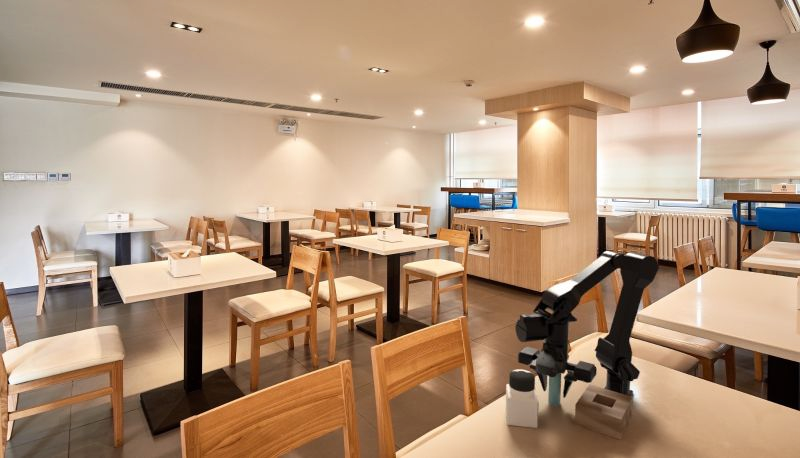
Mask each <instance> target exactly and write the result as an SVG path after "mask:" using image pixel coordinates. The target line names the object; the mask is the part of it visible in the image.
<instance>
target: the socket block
mask: <svg viewBox="0 0 800 458" xmlns="http://www.w3.org/2000/svg"><path fill="white" fill-rule="evenodd" d="M604 388H605V387H604ZM604 388H603V387H601V386H596V385H593V384H591V383H588V386H587V387H586V388H585V390H584V391H583V393H582V394H581V396H580V397H579V399H578V400H577V401H576V403H575V406H574V424H575V425H578V426H581V427H584V428H586V429H590V430H592V431H594V432H596V433H600V434H603V435H605V436H608V437H611V438H614V439H617V440H620V441H621V440H622V437H623V434H624V433H625V430H626V428H627V426H628V425H629V421H630V419H631V417H632V411H633V410H632V409H633V408H632V407H633V396H628V395H624V394H621V393H617V392H614V391H611V390H607V389H604Z"/></svg>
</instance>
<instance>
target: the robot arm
mask: <svg viewBox="0 0 800 458" xmlns="http://www.w3.org/2000/svg"><path fill="white" fill-rule="evenodd" d="M659 265H660V264H659V262H658V259H656V258H655V257H654V256H653V255H648V254H645V253H641V252H640V253H639V252H637V251H630V252H627V253H626V254H624V253H620V252H614V251H611V250H608V251H604V252H602V253H601V255H600V256H599V257H598V258H596V259H595V260H594V261H592V263H590V264H589V265H588V266H586V267H584V269H582V270H580V272H579V273H577V274H575V275H574V276H573V277H571V279H568V280H567V281H565V282H562V283H561V282H560V283H556V284H555V285H553V286H551V287H549V288H547V289H546V290H544V292H543V294H542V298H541V299H540V300H539V301H538V303H537V304H536V306H535V307H534V309H533V311H532V313H533V314H525V313H524V314H520V315H519V319H517V321H516V323H515V326H514V327H515V328H514V329H515V334H516V338H517V339H518V341H520V342H521V343H528V342H538V341H543V343H542V348H541V351H540V350H539V349H537V348H533V347H530V346H526V347H524V348H523V349H522V350H520V351H519V352H518V354H517V362H518V363H519V364H522V365H525V366H528V367H529V369H530V370H531V369H532V370H533V371H534V372H535V373H536V375H537V377H538V380H539V382H540V384H541V388H542V390H543V392H546V391H547V387H548V378H549V377H555V376H556V375H557V374H559V373H561V375H563V374H565V373H566V374H565V375H564V376H563V380H564V384H563V392H562V397H563V398H564V399H565V398H566V397H567V395H568V393H569V391H570V389H571V386H572V384H573V383H575V382H577V381H580V382H583V383H587V384H591V383H592V381H593V380H594V379H595V378H596V377H597V371H598V370H597V369H598V368H597V367H596V365H595V364H594V363H590V362H587V361H584V360H579V361H578V362H577V363H575V362H573V363H572V362H568V360H569V358H570V355H569V345H570V339H569V335H570V333H569V329H570V323H572V322H573V323H574V322H577V321H578V319H577V318H576V317H575V316H574V315H573V311H574V310H575V309H576V308H577V307H578V306H579V305H580V302H581V299H582V298H583V296H584V295H585V294H587V293H588V292H589V291H590V290H592V289H593V288H594V287H596V286H597V285H598V284H600V283H601V282H603V280H604V279H606V278H607V277H609V276H610V275H612V273H614V272H615V271H616V270H618V269H619V270H620V271H619V272H620V277H621V280H622V285H621V291H620V294H619V297H618V302H617V305H616V307H615V311H614V315H613V319H612V323H611V325H610V329H609V333H608V334H607V335H606V336H604V338H603V337H599V338H598V340H597V344H596V347H595V349H594V351H595V358H596V359H597V361H598V362H599V364H600V367H601V368H603V369H605V370H606V382H605V387H604V389H607V390H611V391H614V392H617V393H621V394H624V395H628V396H631V397H633V394H634V391H633V390H632V389H631V382H633V381H634V380H638V378H639V376H640V373H641V371H640V370H639V369H638V368H637V367H636V366H635V365H634V363H632V360H633V359H632V358H633V350H632V346H631V342H630V339H631V335H632V332H633V328H634V325H635V322H636V318H637V314H638V311H639V307H640V304H641V301H642V297H643V293H644V290H645V289H646V288H647V287H648V286H649V285H650V284H652V283H653V282H654V280H655V278H656V275H657V273H658V271H659V268H660V266H659ZM549 311H551V312H552V313H551V312H549Z"/></svg>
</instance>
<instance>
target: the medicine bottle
mask: <svg viewBox="0 0 800 458" xmlns="http://www.w3.org/2000/svg"><path fill="white" fill-rule="evenodd" d="M508 378H509V382H508V383H507V384H506V385H505V413H506V424H507V425H508V426H514V427H523V428H532V429H533V428H534V429H537V428H539V402H540V401H539V398H538V394H537V390H536V387H535V386H536V377H535V375H534V373H532V372H531V371H528V370H526V369H514V370H512V371H510V373H509V377H508Z"/></svg>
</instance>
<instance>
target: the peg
mask: <svg viewBox="0 0 800 458" xmlns="http://www.w3.org/2000/svg"><path fill="white" fill-rule="evenodd" d="M561 392H562V373H559V374H557V375H556V376H555V377H549V376H548V395H547V396H548V404H549V405H551V406H554V407H559V406H561V396H562V395H561Z"/></svg>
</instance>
